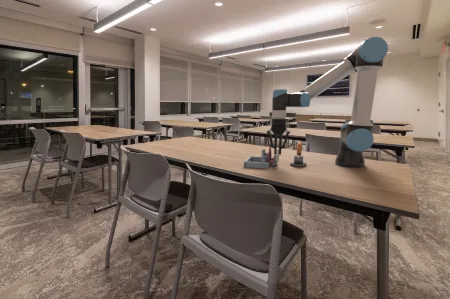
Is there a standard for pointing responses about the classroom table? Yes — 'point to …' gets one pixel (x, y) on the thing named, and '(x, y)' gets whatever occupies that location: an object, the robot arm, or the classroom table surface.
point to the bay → (255, 163)
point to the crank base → (298, 164)
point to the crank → (298, 155)
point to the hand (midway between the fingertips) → (277, 160)
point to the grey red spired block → (268, 158)
